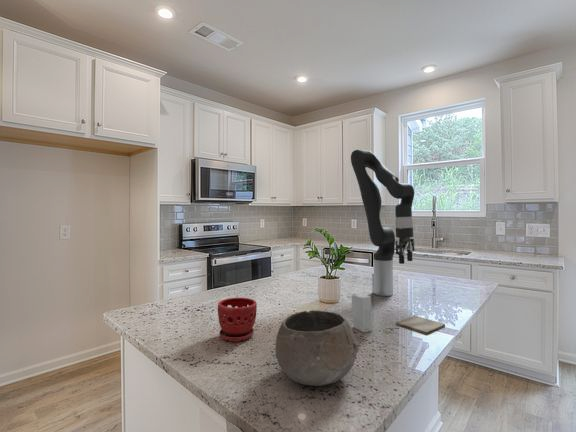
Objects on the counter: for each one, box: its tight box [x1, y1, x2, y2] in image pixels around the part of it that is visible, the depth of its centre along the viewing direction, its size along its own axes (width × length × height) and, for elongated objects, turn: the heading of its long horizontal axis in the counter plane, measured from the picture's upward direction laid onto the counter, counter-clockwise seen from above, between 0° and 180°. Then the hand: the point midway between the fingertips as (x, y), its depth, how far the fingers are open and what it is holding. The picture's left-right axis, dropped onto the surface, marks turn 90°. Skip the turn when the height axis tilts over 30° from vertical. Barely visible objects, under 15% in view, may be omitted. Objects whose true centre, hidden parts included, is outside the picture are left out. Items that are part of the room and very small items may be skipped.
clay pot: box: [274, 309, 359, 387], centre depth 82 cm, size 21×21×15 cm
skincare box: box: [351, 292, 373, 333], centre depth 113 cm, size 6×4×12 cm
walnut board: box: [395, 315, 446, 335], centre depth 116 cm, size 12×12×1 cm
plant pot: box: [217, 297, 258, 342], centre depth 109 cm, size 13×13×12 cm
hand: (405, 262), depth 145 cm, fingers open, 8 cm apart
